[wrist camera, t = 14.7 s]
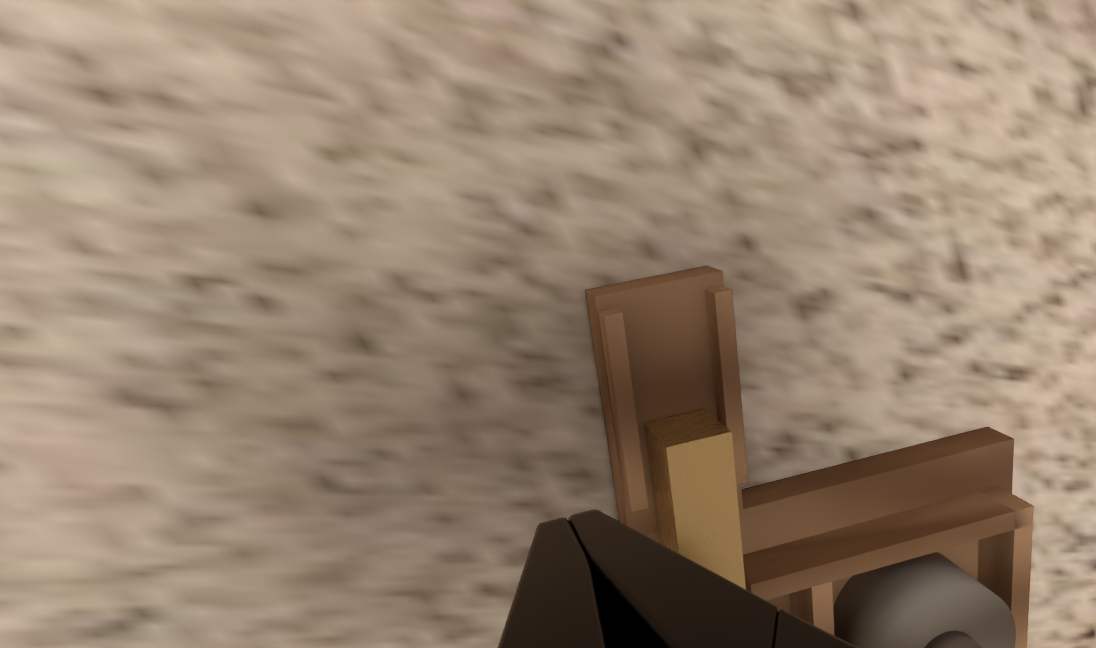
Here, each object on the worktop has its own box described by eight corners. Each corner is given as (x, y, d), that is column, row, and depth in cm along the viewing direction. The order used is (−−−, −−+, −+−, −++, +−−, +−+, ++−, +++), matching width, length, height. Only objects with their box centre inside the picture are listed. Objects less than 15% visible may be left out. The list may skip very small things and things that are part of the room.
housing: (980, 681, 30) (1073, 765, 25) (588, 806, 27) (619, 924, 23) (994, 208, 24) (1116, 216, 20) (495, 307, 21) (513, 342, 17)
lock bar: (719, 556, 24) (745, 591, 22) (663, 572, 23) (685, 607, 21) (704, 409, 22) (731, 431, 20) (644, 422, 22) (666, 447, 20)
